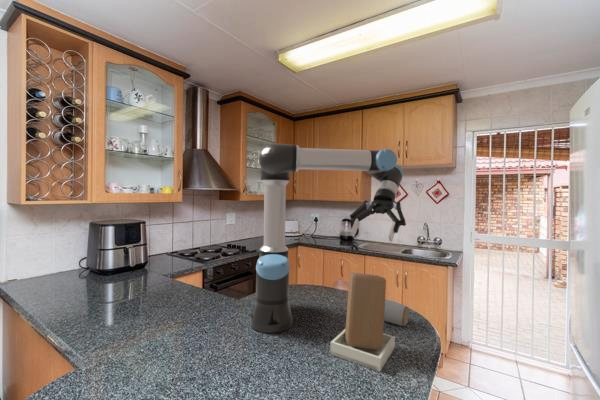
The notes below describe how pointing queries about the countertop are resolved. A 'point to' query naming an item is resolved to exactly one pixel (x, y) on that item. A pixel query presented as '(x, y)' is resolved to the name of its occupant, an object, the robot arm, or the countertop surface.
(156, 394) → the countertop surface
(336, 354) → the sage tray
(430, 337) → the countertop surface
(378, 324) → the wooden block
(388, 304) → the ceramic mug
